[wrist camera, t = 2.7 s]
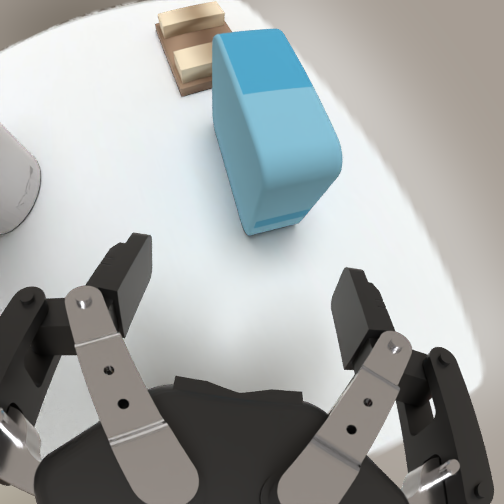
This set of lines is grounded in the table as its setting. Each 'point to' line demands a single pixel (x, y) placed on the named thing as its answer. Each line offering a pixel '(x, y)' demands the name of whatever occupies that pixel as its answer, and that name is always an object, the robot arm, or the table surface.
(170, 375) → the table surface
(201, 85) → the display stand
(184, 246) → the table surface
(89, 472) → the robot arm
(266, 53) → the data package
